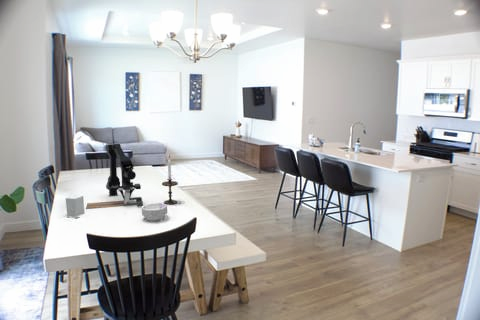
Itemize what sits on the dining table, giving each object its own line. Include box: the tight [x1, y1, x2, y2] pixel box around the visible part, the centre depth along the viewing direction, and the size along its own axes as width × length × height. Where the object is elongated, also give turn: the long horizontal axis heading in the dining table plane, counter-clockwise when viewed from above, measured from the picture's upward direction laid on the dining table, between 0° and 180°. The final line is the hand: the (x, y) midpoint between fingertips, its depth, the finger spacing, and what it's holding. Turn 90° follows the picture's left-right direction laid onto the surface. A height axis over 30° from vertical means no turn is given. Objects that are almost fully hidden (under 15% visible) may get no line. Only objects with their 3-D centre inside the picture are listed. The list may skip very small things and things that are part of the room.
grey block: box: [123, 190, 131, 205], centre depth 249 cm, size 10×3×9 cm, turn 19°
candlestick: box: [161, 154, 179, 206], centre depth 253 cm, size 11×11×35 cm
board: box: [85, 199, 127, 210], centre depth 245 cm, size 14×25×2 cm, turn 109°
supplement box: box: [65, 194, 86, 220], centre depth 224 cm, size 7×7×13 cm
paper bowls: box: [141, 202, 168, 222], centre depth 221 cm, size 15×15×8 cm
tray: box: [126, 196, 144, 208], centre depth 251 cm, size 14×11×3 cm
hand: (126, 199), depth 249 cm, fingers open, 3 cm apart
